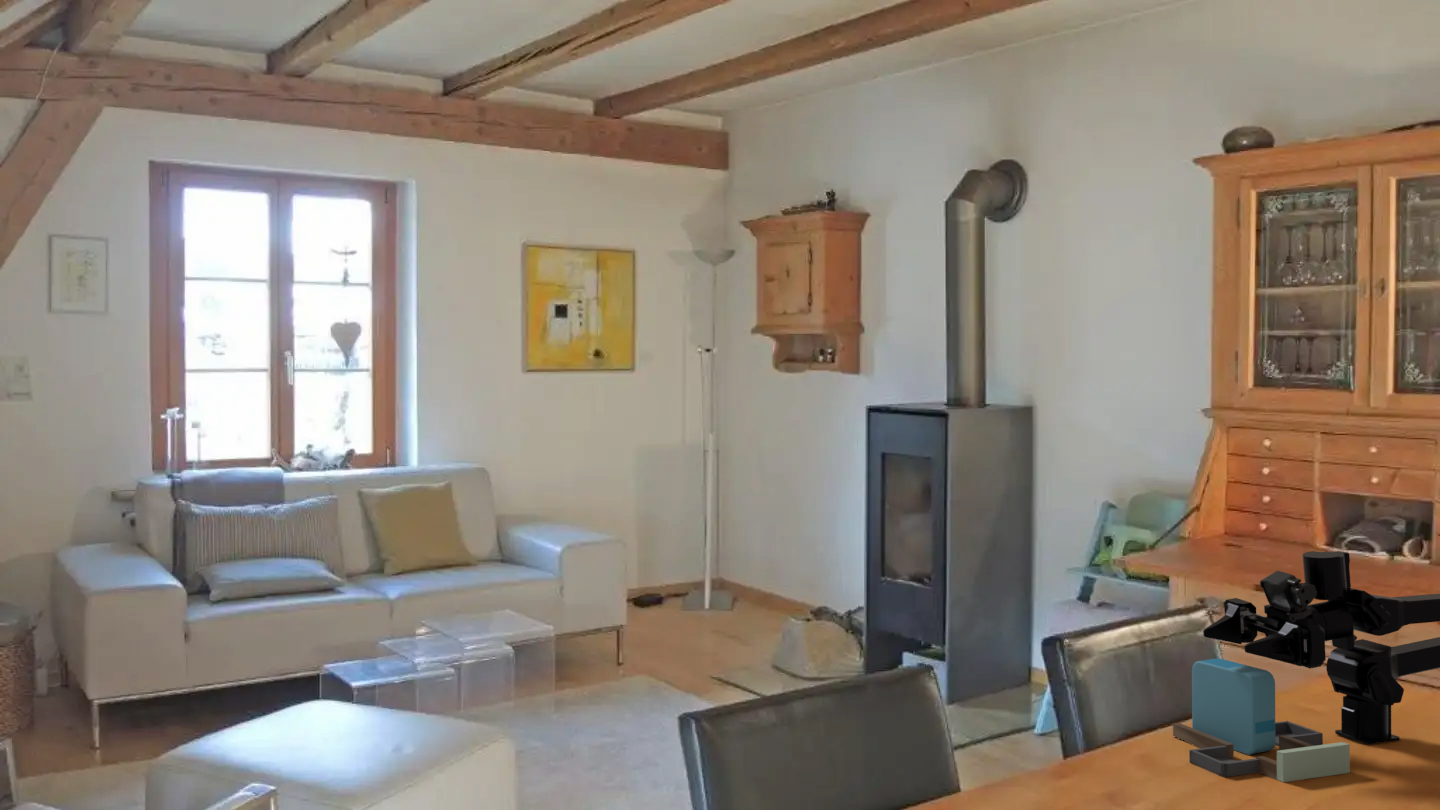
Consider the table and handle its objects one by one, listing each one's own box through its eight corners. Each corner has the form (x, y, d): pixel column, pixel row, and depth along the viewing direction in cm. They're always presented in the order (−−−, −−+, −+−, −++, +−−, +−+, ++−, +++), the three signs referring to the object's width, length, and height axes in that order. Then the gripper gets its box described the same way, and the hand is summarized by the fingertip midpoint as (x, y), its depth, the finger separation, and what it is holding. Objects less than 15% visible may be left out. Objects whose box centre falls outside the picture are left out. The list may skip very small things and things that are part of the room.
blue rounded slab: (1276, 753, 187) (1275, 672, 186) (1253, 757, 185) (1253, 675, 185) (1213, 732, 198) (1212, 656, 197) (1191, 736, 196) (1191, 659, 195)
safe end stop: (1343, 770, 178) (1342, 741, 178) (1349, 772, 177) (1349, 744, 177) (1276, 779, 175) (1276, 750, 175) (1283, 782, 174) (1283, 753, 174)
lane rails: (1234, 729, 199) (1234, 716, 199) (1343, 770, 178) (1342, 756, 178) (1173, 736, 196) (1173, 723, 196) (1276, 779, 175) (1276, 765, 175)
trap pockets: (1287, 732, 197) (1287, 720, 197) (1359, 758, 184) (1359, 746, 183) (1158, 748, 190) (1158, 736, 190) (1223, 777, 176) (1223, 764, 176)
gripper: (1267, 559, 199) (1181, 574, 194) (1357, 583, 181) (1265, 600, 176) (1270, 629, 200) (1185, 645, 195) (1360, 659, 182) (1269, 678, 178)
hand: (1224, 640), depth 186 cm, fingers open, 9 cm apart
